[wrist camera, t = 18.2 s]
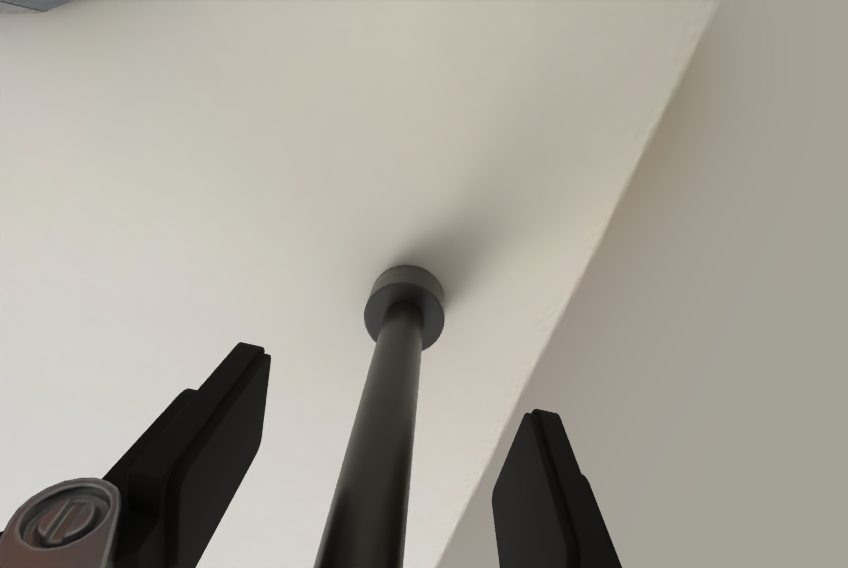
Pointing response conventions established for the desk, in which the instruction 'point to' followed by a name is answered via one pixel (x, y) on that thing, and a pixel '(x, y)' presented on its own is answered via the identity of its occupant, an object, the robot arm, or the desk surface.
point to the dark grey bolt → (384, 426)
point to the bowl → (29, 5)
